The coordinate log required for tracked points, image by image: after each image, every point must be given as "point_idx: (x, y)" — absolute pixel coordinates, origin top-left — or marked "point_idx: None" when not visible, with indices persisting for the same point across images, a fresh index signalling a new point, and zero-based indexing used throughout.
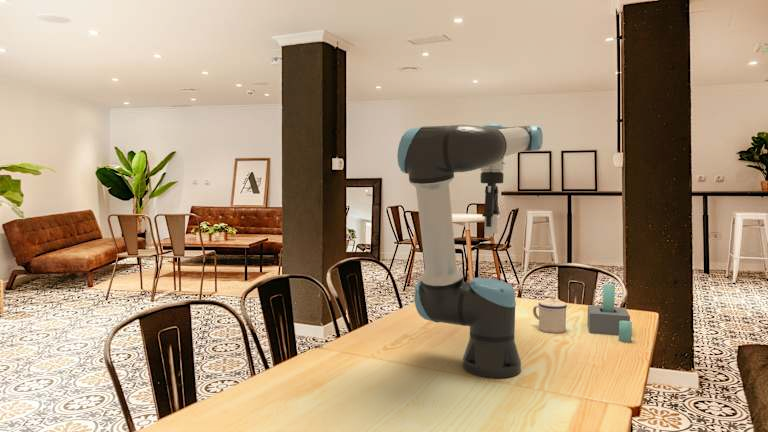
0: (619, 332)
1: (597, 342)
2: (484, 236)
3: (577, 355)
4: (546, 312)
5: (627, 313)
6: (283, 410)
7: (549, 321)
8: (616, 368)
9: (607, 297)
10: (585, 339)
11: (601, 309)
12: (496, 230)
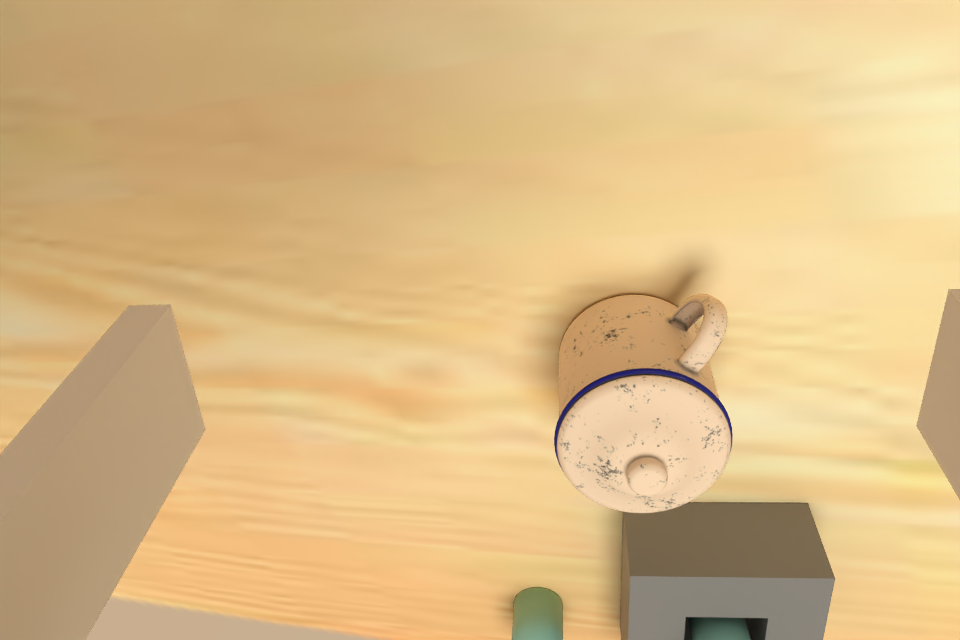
0: (529, 617)
1: (469, 519)
2: (128, 308)
3: (239, 447)
4: (566, 392)
5: None
6: None
7: (559, 378)
8: (159, 548)
9: None
10: (498, 482)
11: (765, 621)
12: (939, 450)
